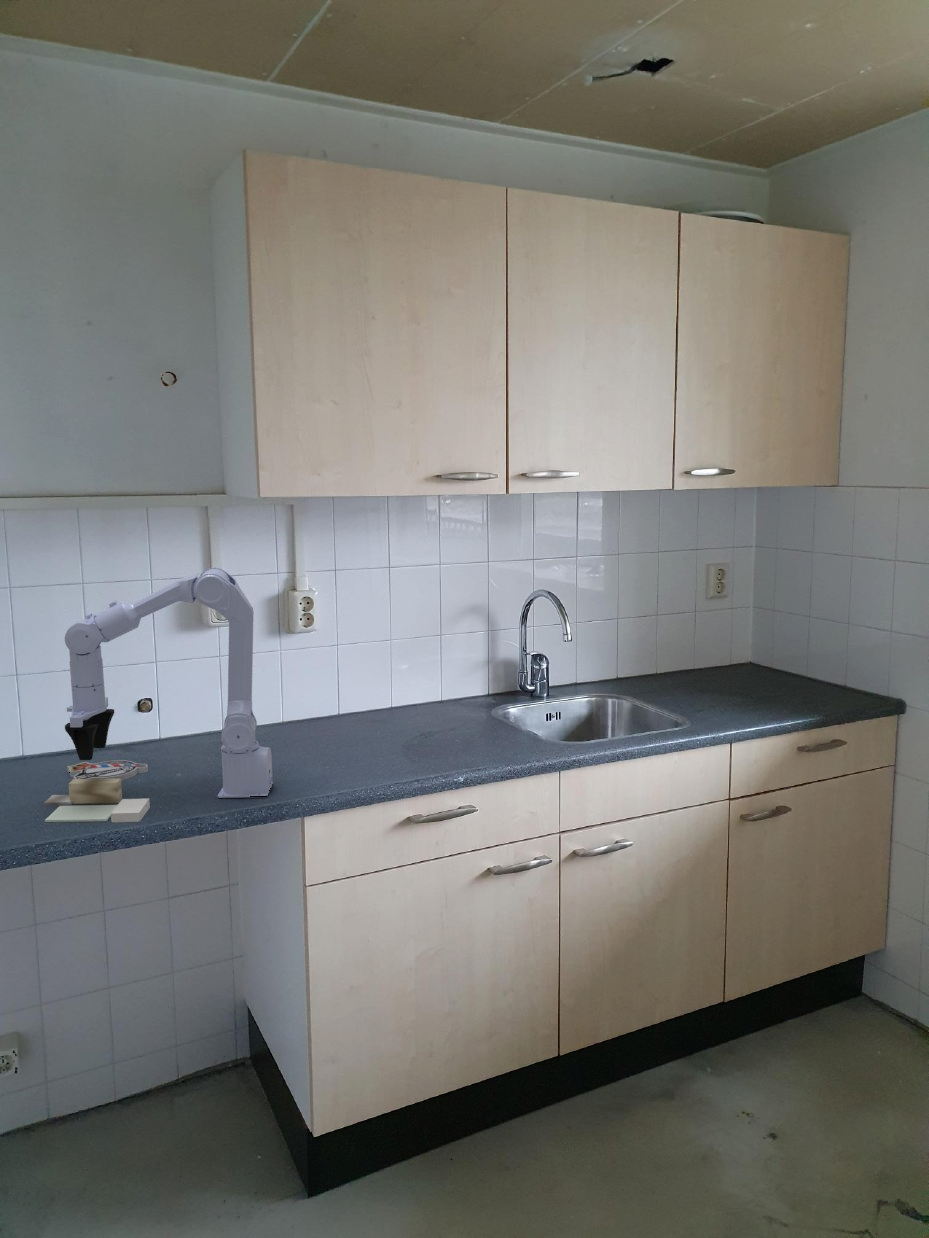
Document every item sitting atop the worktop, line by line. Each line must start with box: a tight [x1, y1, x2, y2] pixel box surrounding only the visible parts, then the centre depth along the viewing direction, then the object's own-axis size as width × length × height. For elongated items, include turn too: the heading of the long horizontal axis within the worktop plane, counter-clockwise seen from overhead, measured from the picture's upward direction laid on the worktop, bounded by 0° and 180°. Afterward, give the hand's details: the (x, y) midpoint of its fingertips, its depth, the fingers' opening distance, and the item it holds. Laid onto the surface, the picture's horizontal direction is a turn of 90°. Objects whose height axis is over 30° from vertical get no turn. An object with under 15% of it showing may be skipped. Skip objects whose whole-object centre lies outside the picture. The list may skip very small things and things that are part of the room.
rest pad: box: [44, 804, 118, 823], centre depth 172 cm, size 11×7×1 cm, turn 92°
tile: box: [110, 798, 151, 823], centre depth 171 cm, size 5×2×7 cm
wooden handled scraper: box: [43, 779, 123, 806], centre depth 178 cm, size 14×4×4 cm, turn 92°
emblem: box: [66, 759, 149, 782], centre depth 194 cm, size 12×2×15 cm
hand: (92, 753), depth 177 cm, fingers open, 7 cm apart
